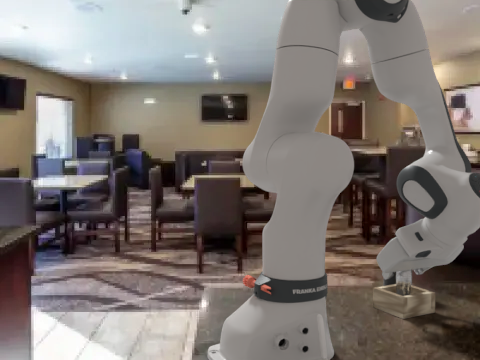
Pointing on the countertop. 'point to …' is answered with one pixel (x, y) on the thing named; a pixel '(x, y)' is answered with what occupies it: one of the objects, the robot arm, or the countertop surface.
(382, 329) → the countertop surface
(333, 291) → the countertop surface
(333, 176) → the robot arm
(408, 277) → the metal coffee tamper
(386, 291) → the open wooden box
